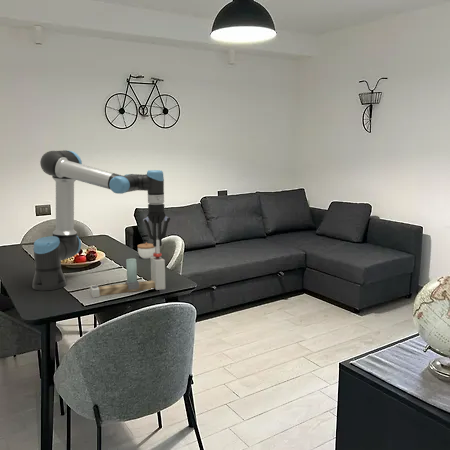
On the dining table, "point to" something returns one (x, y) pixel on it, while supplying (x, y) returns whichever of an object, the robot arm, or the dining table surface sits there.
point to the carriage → (131, 274)
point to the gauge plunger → (157, 256)
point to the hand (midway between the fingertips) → (157, 252)
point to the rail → (125, 288)
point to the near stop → (94, 291)
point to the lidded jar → (146, 250)
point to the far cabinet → (158, 273)
